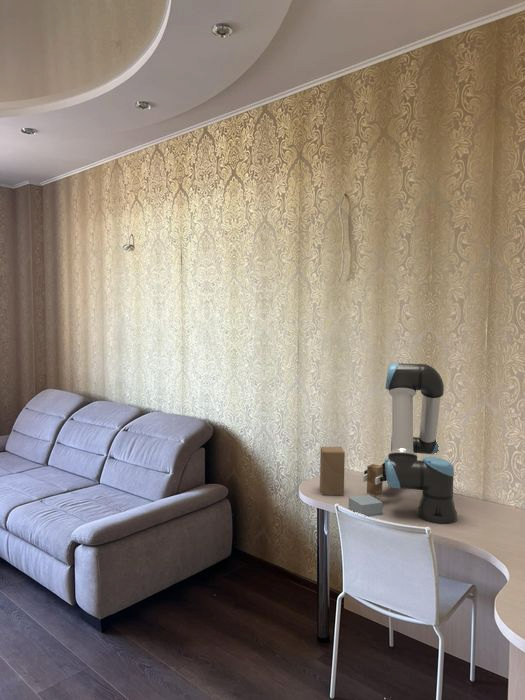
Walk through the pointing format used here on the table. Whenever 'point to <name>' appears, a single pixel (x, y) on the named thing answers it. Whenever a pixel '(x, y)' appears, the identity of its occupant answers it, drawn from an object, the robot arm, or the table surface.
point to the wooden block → (332, 470)
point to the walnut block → (372, 473)
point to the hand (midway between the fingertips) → (369, 479)
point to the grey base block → (366, 505)
